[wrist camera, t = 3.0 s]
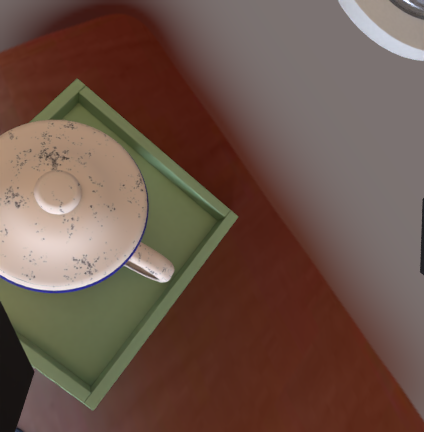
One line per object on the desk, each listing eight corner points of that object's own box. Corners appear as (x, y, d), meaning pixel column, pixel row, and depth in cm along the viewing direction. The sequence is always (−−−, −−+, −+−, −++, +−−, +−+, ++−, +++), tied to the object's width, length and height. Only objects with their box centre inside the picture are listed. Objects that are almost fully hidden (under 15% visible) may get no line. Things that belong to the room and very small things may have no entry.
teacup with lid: (-35, 250, 27) (-115, 223, 16) (45, 141, 29) (24, 55, 18) (124, 334, 29) (151, 362, 18) (185, 226, 32) (240, 193, 21)
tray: (229, 220, 33) (238, 216, 31) (92, 402, 28) (93, 411, 26) (77, 90, 31) (77, 77, 29) (-103, 259, 26) (-118, 257, 24)
